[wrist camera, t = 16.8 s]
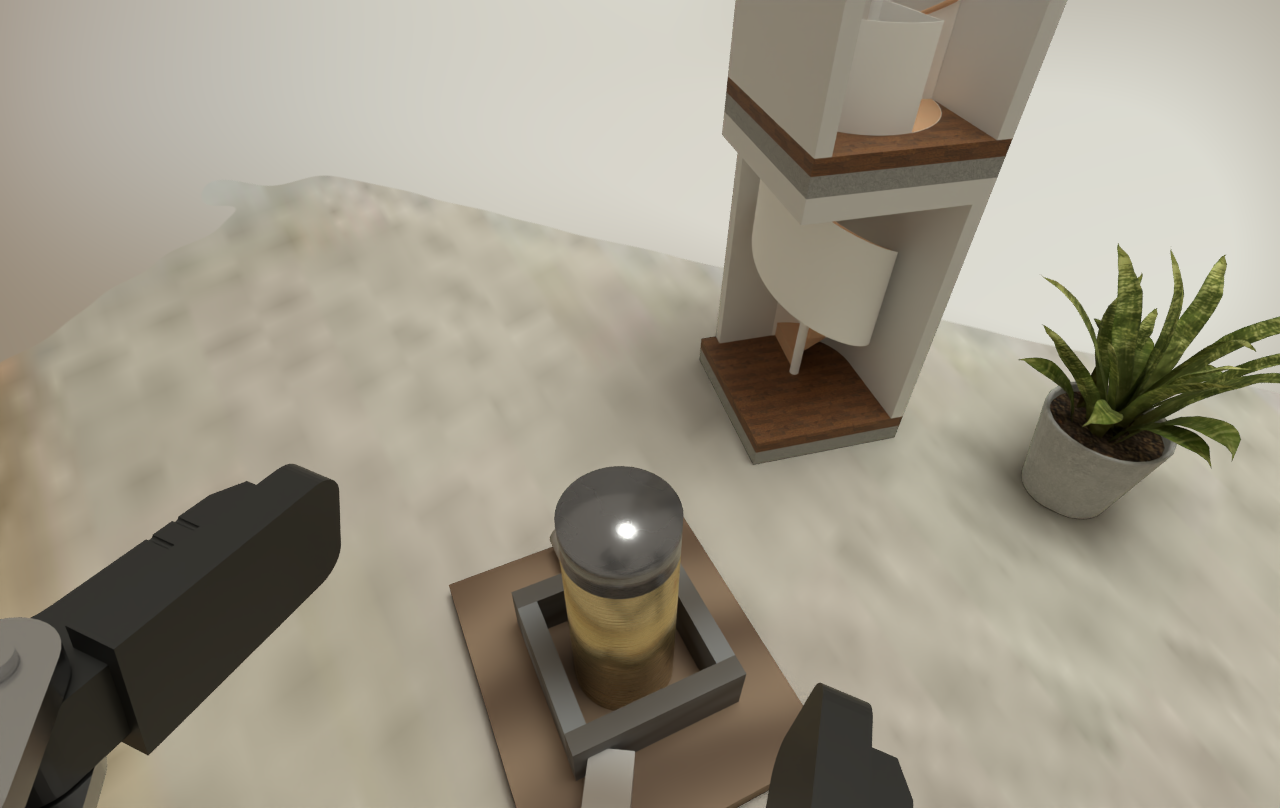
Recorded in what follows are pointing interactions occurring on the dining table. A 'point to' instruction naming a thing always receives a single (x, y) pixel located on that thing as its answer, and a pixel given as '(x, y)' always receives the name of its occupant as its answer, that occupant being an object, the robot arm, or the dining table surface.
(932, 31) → the white tall stand
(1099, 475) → the house plant
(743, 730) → the socket base
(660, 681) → the capped cylinder
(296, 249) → the dining table surface
